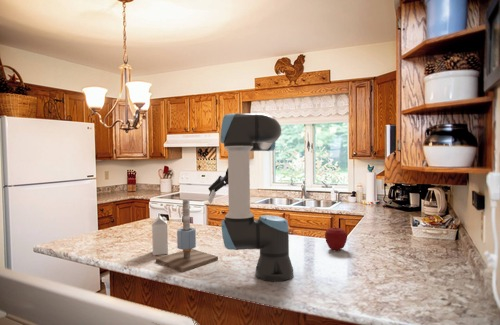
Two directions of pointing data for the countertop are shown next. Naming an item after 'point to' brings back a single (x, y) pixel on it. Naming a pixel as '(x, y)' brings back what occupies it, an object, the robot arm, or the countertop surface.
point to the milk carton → (160, 236)
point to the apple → (336, 238)
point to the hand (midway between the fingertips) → (221, 201)
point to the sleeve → (186, 239)
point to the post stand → (189, 256)
